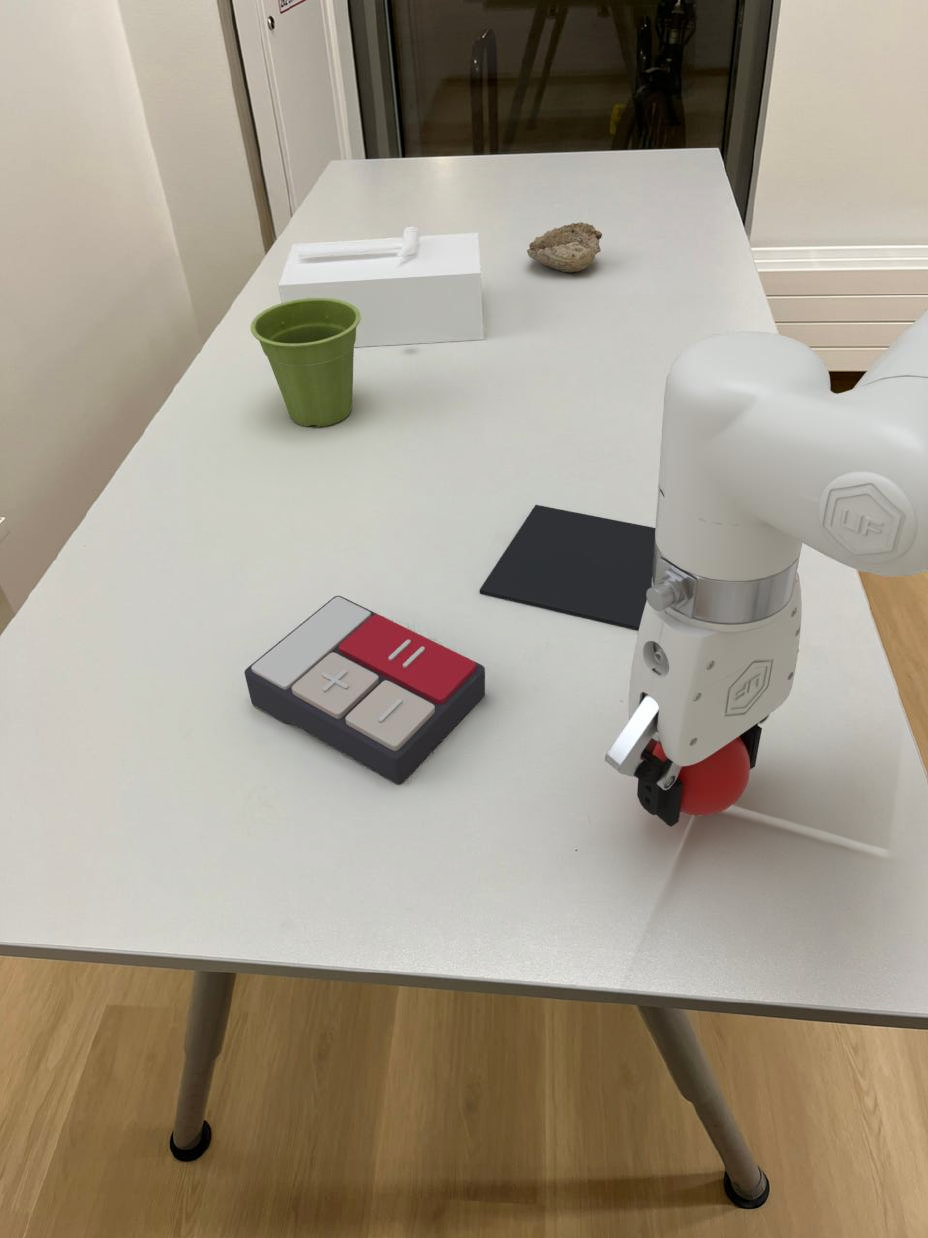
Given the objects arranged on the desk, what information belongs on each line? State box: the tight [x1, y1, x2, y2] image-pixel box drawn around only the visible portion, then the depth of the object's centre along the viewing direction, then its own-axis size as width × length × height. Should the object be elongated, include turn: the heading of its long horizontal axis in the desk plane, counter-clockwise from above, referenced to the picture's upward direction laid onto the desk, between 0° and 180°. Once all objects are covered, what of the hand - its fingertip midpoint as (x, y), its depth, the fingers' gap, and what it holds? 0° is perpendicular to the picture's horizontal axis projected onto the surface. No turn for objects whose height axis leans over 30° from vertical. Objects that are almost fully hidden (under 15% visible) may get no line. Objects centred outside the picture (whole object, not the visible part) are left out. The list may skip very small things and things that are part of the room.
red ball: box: [653, 736, 751, 817], centre depth 62 cm, size 6×6×6 cm
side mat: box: [479, 504, 656, 631], centre depth 84 cm, size 20×14×1 cm
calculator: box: [244, 595, 486, 785], centre depth 73 cm, size 11×4×15 cm
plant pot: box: [250, 298, 361, 427], centre depth 106 cm, size 12×12×11 cm
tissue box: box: [277, 226, 485, 348], centre depth 124 cm, size 14×25×11 cm, turn 91°
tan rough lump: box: [526, 221, 603, 273], centre depth 138 cm, size 11×7×10 cm
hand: (696, 782), depth 63 cm, fingers closed on red ball, 6 cm apart
